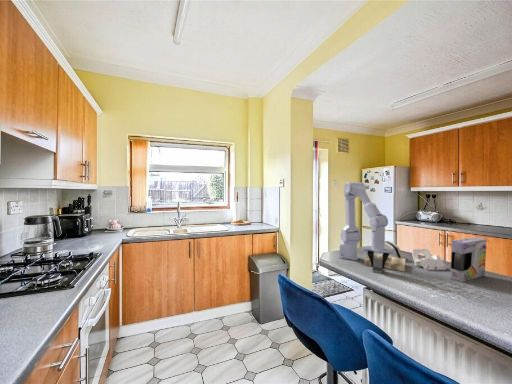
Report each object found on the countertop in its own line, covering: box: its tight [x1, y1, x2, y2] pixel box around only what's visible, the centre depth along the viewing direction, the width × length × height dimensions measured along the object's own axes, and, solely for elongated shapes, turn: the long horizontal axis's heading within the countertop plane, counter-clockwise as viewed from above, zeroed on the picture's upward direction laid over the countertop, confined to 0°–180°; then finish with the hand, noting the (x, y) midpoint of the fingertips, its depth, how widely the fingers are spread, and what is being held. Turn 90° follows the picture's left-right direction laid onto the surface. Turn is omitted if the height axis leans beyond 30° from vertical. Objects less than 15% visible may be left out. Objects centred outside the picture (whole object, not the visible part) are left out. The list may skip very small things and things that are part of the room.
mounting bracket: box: [411, 248, 448, 271], centre depth 124 cm, size 12×6×11 cm, turn 90°
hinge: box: [385, 240, 407, 262], centre depth 144 cm, size 17×5×10 cm, turn 178°
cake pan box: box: [450, 236, 487, 283], centre depth 110 cm, size 19×5×18 cm, turn 112°
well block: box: [364, 254, 406, 272], centre depth 128 cm, size 18×13×3 cm
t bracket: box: [371, 258, 384, 274], centre depth 119 cm, size 4×7×6 cm, turn 147°
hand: (377, 267), depth 119 cm, fingers closed on t bracket, 4 cm apart
